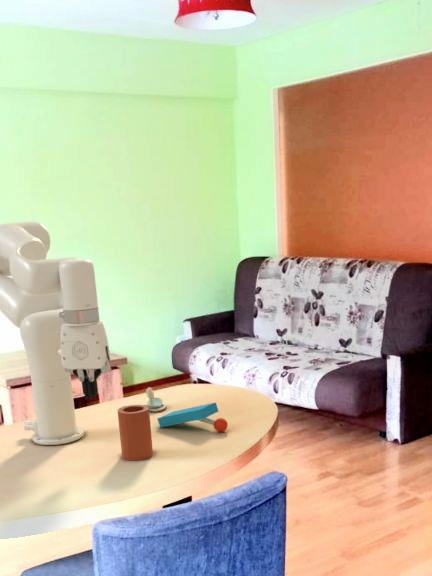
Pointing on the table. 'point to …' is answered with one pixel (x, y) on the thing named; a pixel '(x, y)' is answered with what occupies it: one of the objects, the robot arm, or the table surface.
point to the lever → (194, 417)
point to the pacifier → (154, 401)
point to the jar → (135, 432)
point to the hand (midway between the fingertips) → (91, 397)
